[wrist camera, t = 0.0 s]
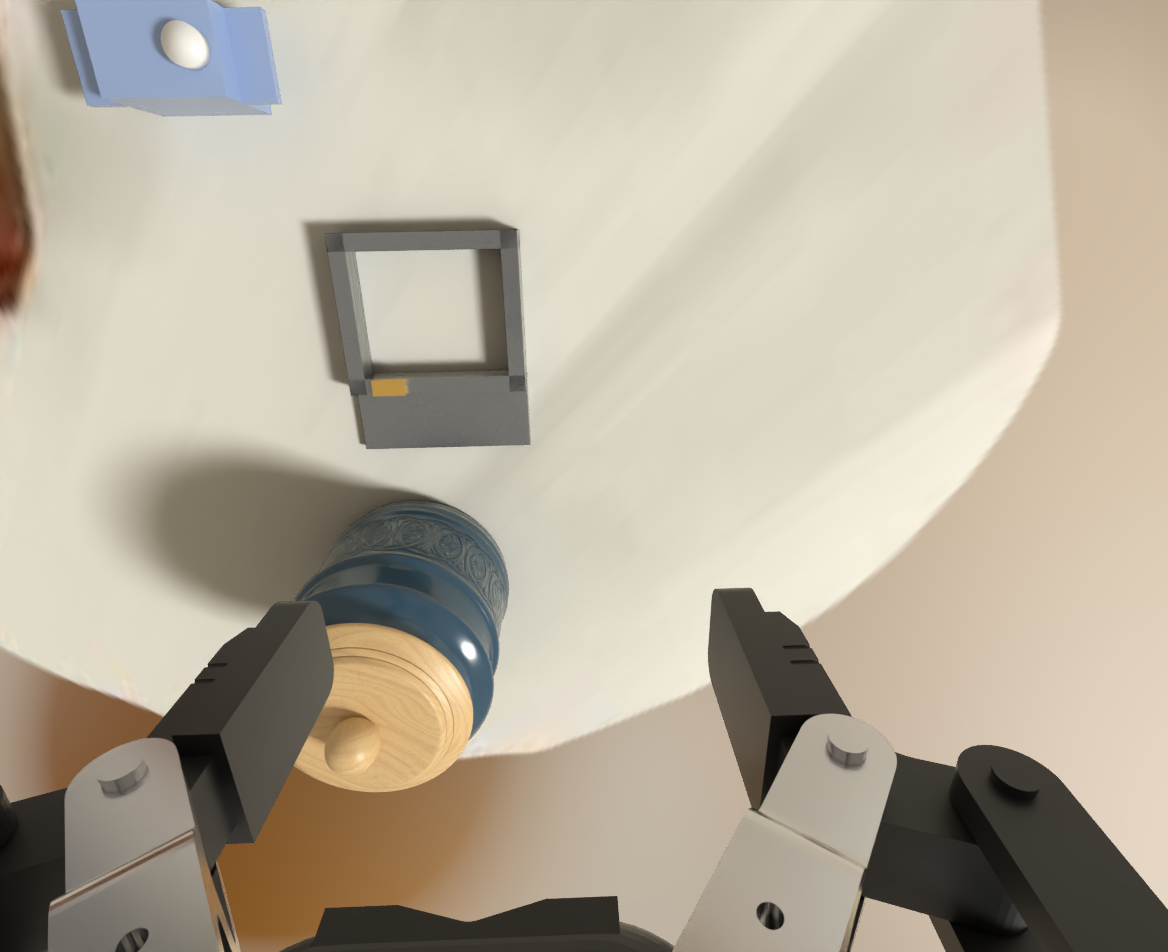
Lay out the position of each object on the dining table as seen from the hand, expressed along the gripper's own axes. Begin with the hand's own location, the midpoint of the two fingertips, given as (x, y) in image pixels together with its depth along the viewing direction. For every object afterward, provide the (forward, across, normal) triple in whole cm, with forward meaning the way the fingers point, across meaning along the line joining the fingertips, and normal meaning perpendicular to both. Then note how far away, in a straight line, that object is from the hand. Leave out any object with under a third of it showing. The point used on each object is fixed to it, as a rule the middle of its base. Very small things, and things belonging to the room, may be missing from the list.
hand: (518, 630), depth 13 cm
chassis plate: (+29, +7, -1) cm, 30 cm away
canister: (+30, +10, +16) cm, 35 cm away
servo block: (+29, +18, -16) cm, 38 cm away
